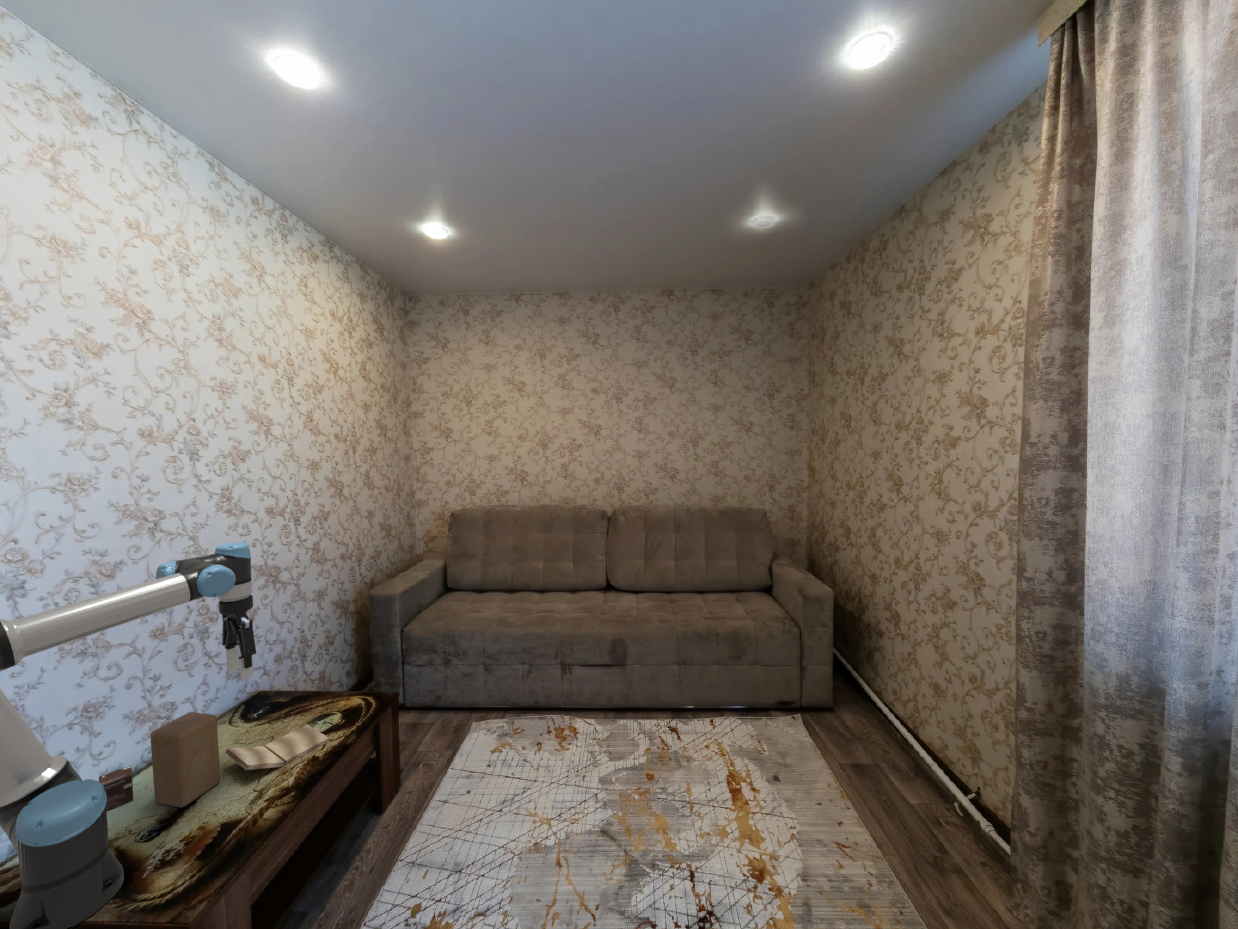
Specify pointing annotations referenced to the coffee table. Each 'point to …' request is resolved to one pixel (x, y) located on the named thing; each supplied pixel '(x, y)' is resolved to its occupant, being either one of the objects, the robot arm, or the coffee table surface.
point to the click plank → (254, 757)
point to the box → (118, 787)
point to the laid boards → (297, 743)
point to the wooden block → (185, 759)
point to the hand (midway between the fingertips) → (240, 674)
